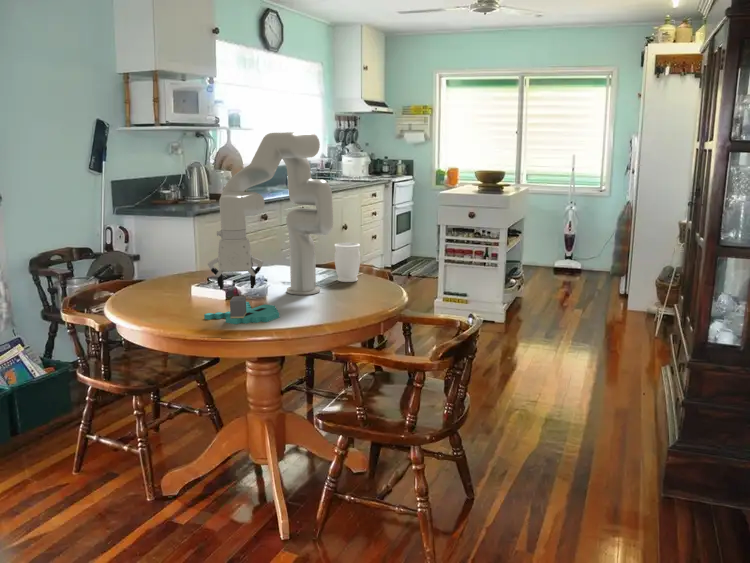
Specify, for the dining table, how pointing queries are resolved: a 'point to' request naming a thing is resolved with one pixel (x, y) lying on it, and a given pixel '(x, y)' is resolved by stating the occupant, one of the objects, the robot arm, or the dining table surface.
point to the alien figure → (248, 315)
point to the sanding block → (238, 307)
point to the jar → (347, 261)
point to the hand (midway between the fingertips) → (237, 287)
